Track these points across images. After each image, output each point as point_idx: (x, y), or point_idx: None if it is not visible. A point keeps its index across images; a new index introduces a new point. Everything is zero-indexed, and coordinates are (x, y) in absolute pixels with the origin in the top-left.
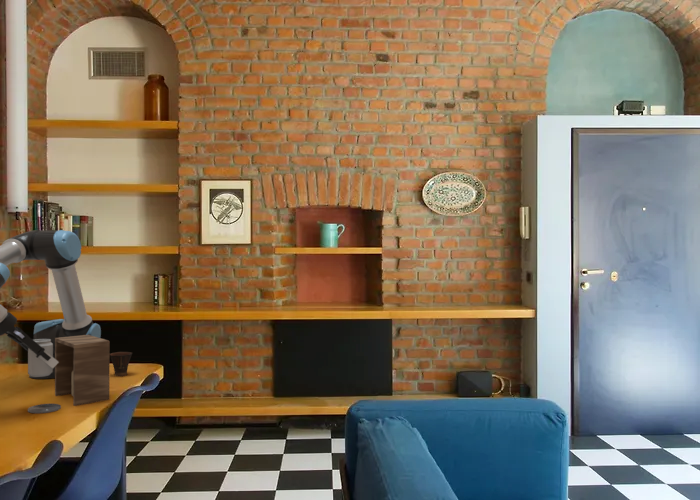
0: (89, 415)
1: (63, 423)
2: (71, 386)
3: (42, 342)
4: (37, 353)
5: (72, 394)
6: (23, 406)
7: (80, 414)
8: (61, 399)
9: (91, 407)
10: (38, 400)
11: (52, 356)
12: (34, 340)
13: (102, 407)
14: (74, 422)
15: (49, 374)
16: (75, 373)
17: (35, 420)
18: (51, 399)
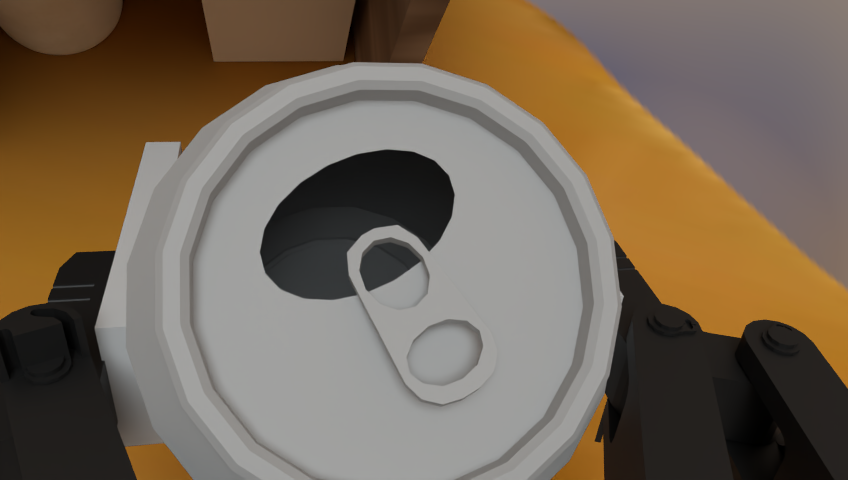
0: (668, 145)
1: (755, 320)
2: (15, 18)
3: (599, 294)
4: (776, 451)
5: (65, 49)
6: (144, 447)
7: (617, 179)
8: (119, 152)
9: (492, 70)
10: (17, 304)
11: (434, 168)
12: (214, 392)
13: (533, 20)
14: (766, 262)
15: (400, 258)
16: (435, 22)
17: (600, 449)
18: (61, 212)
